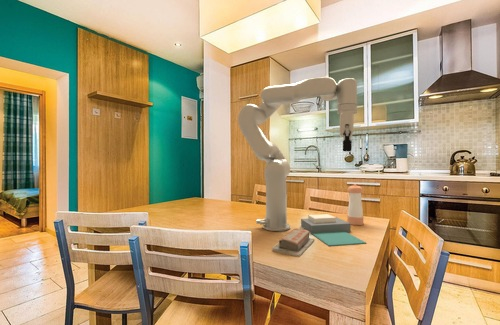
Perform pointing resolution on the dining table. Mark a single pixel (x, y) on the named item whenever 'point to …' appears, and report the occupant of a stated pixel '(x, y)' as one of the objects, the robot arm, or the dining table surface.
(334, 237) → the mat
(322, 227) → the block
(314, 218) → the cream flat block
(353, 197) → the pepper shaker
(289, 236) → the packaged product
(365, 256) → the dining table surface
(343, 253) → the dining table surface
